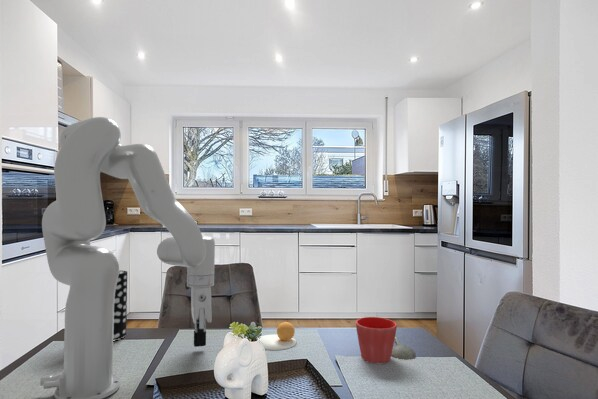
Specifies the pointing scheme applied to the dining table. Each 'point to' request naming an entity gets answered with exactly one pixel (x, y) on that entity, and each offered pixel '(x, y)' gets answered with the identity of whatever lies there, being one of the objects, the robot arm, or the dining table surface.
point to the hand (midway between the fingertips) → (199, 345)
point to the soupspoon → (402, 351)
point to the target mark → (276, 342)
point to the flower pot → (376, 338)
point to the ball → (285, 331)
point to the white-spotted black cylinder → (120, 306)
